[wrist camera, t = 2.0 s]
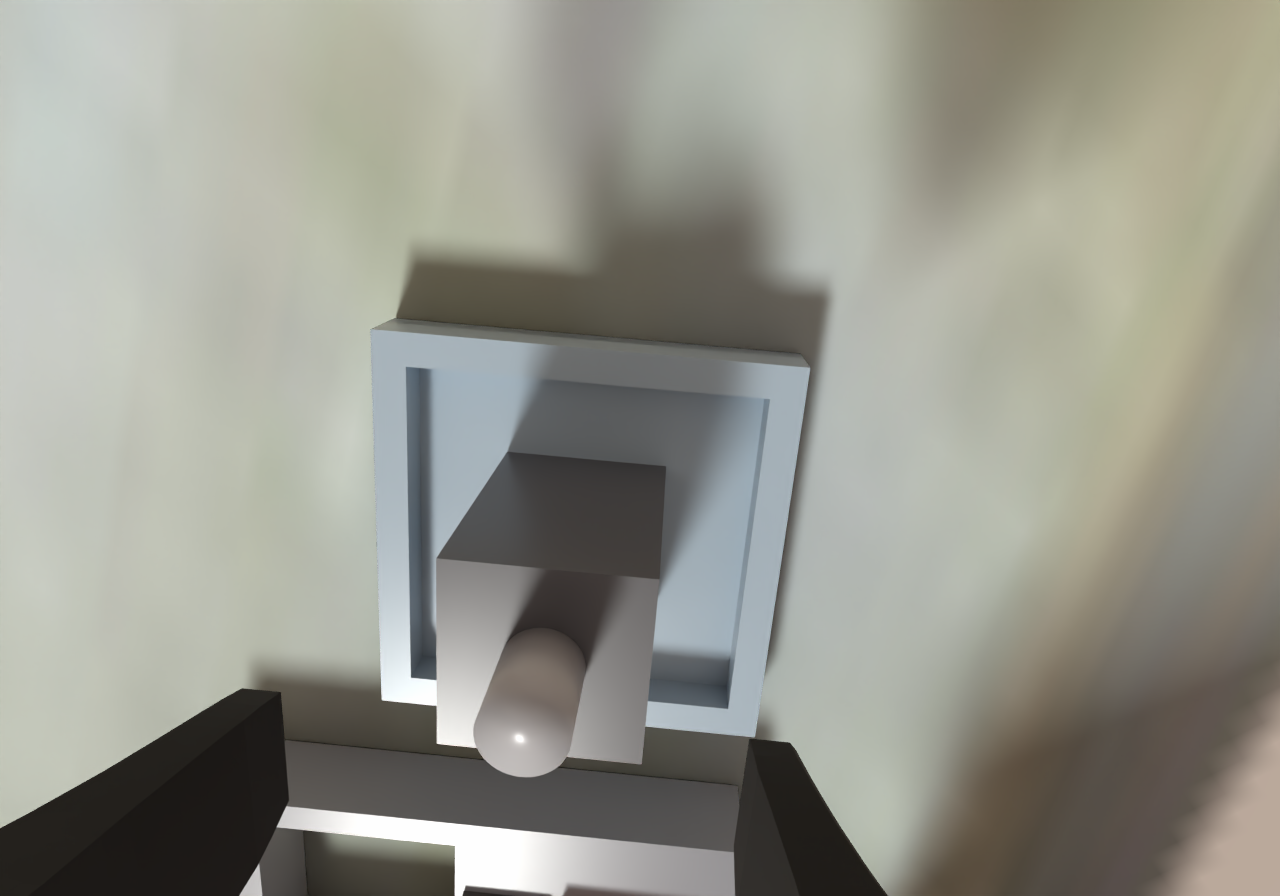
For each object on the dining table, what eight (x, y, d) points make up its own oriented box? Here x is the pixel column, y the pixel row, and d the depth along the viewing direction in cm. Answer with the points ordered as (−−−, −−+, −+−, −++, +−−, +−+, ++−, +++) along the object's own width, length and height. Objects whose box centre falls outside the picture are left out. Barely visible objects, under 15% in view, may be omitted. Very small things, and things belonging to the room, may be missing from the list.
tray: (800, 353, 19) (810, 367, 18) (750, 700, 22) (754, 737, 21) (394, 317, 19) (370, 329, 18) (402, 665, 23) (381, 700, 21)
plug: (666, 466, 20) (655, 640, 12) (652, 607, 21) (636, 846, 13) (507, 451, 20) (397, 615, 12) (503, 593, 21) (402, 822, 13)
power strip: (737, 785, 23) (745, 871, 20) (712, 960, 25) (716, 1061, 23) (239, 735, 24) (176, 813, 21) (256, 912, 26) (202, 1004, 23)
